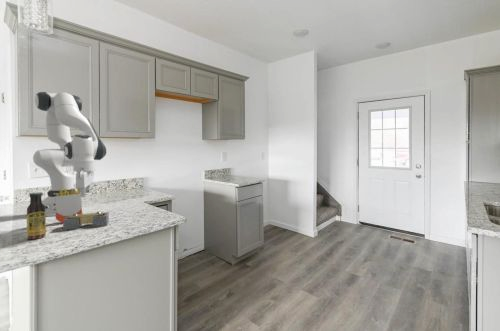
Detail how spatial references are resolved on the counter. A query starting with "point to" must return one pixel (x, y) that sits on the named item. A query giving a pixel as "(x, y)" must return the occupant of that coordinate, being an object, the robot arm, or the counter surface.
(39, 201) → the sauce bottle
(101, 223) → the chain end right
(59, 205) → the french fries container
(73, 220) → the chain end left
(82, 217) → the link
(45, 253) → the counter surface
